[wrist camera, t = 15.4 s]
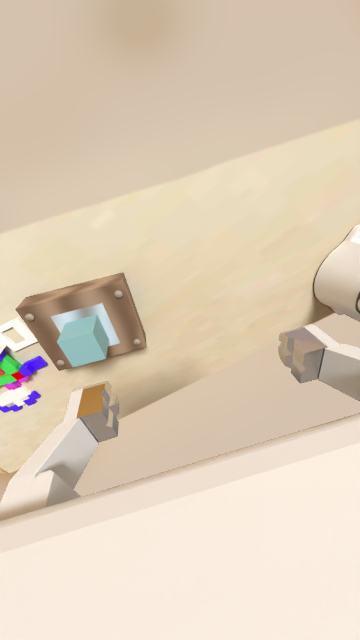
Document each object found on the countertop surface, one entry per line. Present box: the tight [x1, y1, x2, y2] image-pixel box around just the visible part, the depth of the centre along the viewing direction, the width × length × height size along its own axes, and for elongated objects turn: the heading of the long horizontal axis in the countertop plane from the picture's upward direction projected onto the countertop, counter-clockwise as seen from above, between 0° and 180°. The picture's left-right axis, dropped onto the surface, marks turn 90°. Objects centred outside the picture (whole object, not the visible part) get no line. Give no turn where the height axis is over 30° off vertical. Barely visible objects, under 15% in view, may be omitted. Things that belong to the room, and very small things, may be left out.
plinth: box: [16, 273, 146, 371], centre depth 38 cm, size 16×13×4 cm
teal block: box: [57, 315, 109, 367], centre depth 35 cm, size 5×5×5 cm
